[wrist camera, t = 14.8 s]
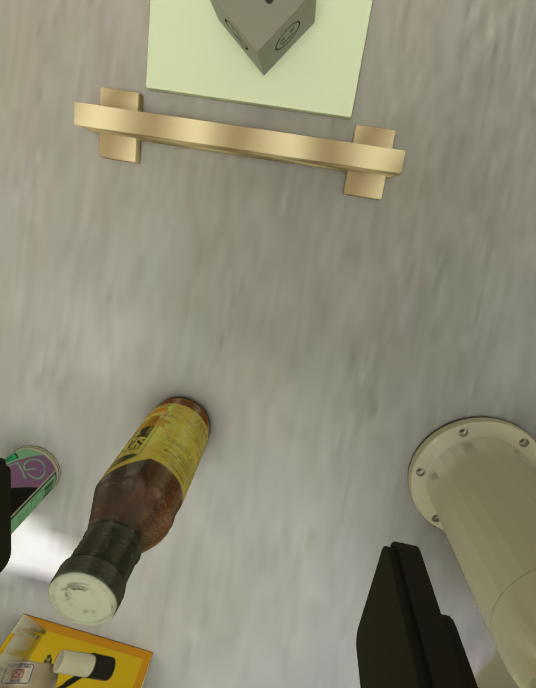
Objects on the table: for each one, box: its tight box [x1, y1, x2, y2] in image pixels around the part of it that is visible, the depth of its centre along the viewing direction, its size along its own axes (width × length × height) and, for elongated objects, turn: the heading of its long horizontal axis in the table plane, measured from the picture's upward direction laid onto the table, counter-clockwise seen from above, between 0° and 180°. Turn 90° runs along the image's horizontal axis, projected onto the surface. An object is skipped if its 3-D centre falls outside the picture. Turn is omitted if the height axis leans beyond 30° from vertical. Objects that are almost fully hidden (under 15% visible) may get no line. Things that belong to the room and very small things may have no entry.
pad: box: [146, 0, 373, 119], centre depth 32 cm, size 16×11×1 cm
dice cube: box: [210, 0, 316, 75], centre depth 29 cm, size 5×5×5 cm
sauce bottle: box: [48, 398, 210, 626], centre depth 33 cm, size 7×6×20 cm
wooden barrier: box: [75, 88, 406, 200], centre depth 33 cm, size 24×5×4 cm, turn 82°
